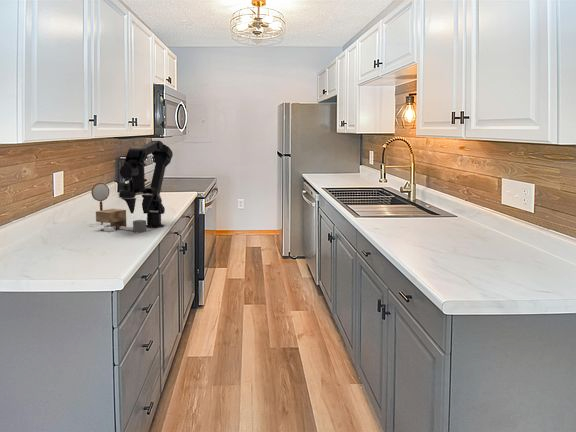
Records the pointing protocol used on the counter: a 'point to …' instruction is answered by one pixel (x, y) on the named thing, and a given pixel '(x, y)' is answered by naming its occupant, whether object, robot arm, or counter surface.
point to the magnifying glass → (100, 193)
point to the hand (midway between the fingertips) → (139, 211)
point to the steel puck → (109, 228)
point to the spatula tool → (137, 226)
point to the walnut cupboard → (112, 217)
